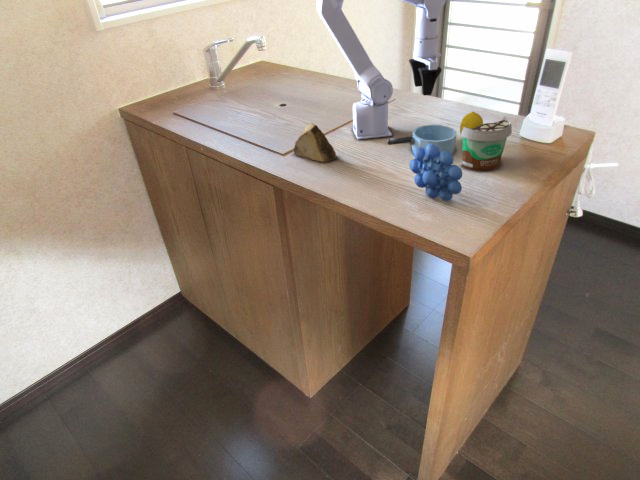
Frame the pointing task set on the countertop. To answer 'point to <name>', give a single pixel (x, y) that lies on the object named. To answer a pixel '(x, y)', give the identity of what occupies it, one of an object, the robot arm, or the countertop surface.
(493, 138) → the food container
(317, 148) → the rock
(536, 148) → the countertop surface
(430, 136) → the pan
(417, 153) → the grapes
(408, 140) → the pan handle
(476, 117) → the lemon
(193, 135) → the countertop surface
